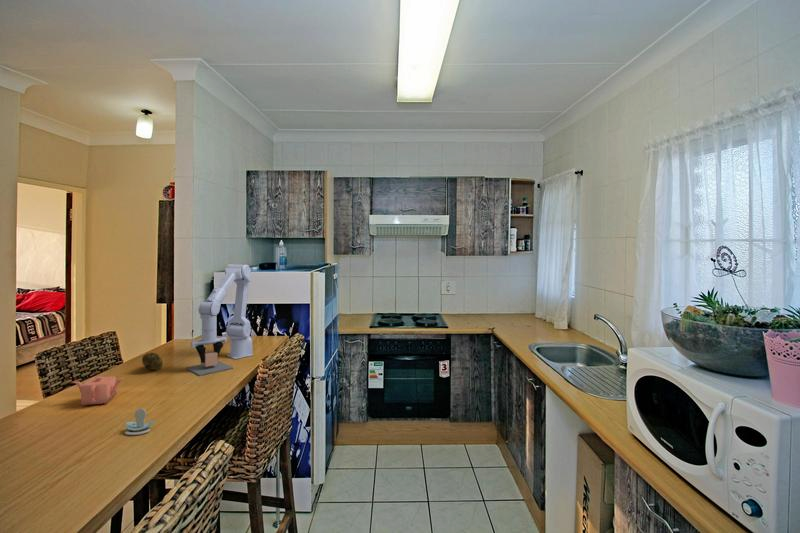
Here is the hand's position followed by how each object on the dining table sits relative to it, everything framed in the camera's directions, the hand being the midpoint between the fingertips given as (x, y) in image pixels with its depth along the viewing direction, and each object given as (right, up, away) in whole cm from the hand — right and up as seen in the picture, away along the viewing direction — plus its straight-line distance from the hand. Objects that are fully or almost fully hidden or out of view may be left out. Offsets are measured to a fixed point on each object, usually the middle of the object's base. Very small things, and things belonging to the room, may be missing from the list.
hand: (209, 360), depth 175 cm
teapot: (-20, -5, -37) cm, 42 cm away
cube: (0, -2, 0) cm, 2 cm away
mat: (0, -3, 0) cm, 3 cm away
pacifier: (+7, -7, -58) cm, 59 cm away
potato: (-23, -3, -2) cm, 23 cm away
